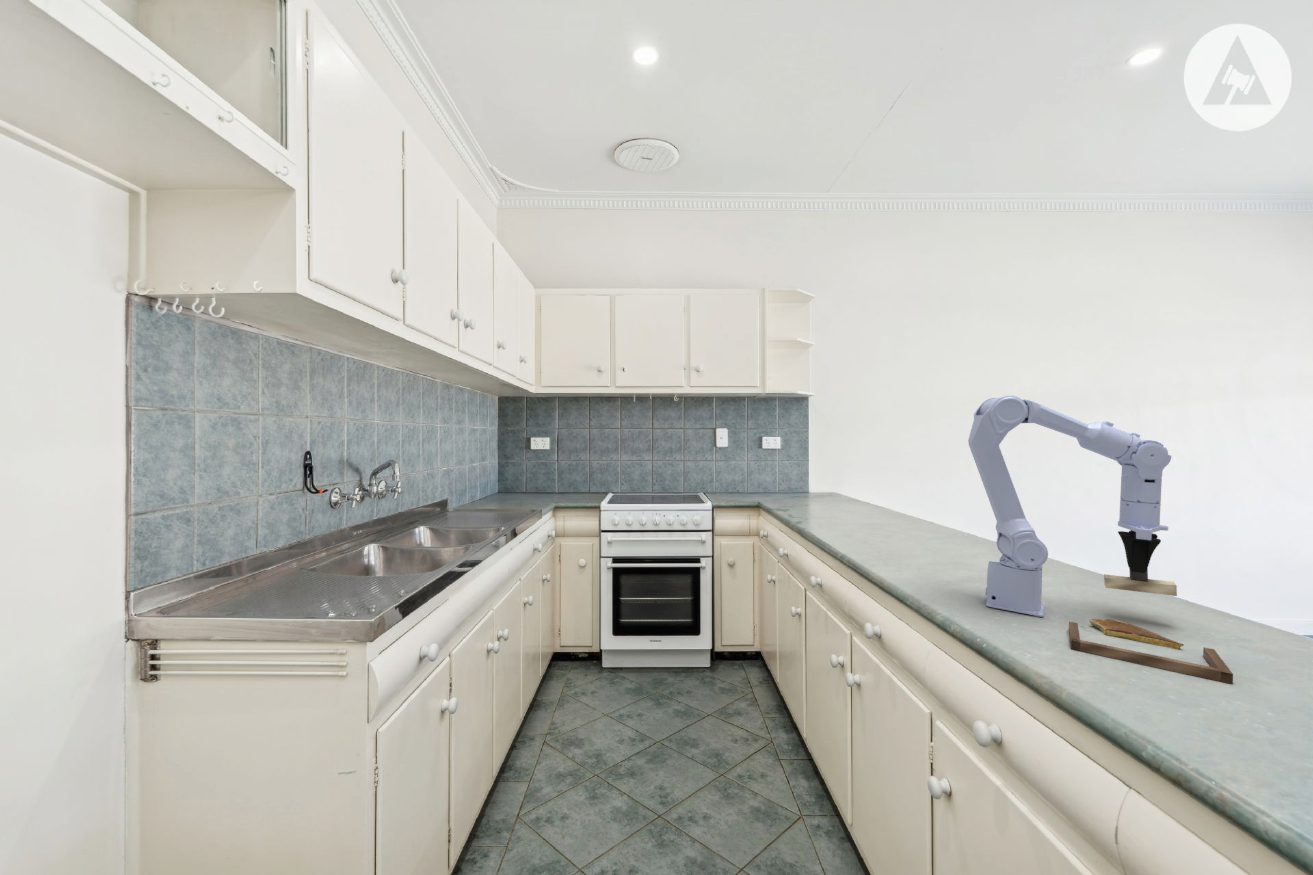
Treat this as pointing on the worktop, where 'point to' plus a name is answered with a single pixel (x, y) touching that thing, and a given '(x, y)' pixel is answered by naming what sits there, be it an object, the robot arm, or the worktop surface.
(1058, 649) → the worktop surface
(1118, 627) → the shard
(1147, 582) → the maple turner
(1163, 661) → the walnut frame
